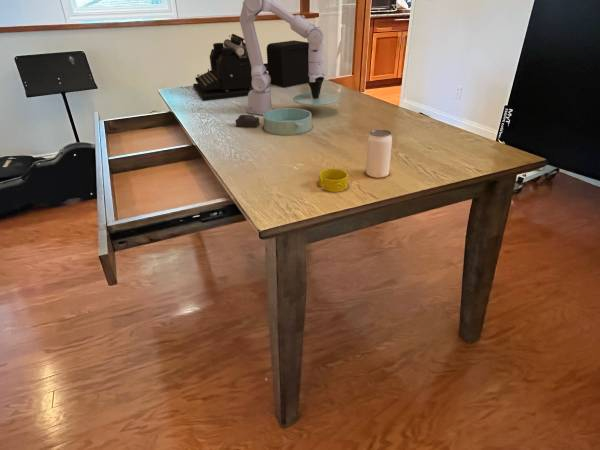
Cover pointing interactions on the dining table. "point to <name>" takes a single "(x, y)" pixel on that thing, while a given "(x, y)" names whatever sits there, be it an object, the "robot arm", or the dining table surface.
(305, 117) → the pot
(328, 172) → the bracelet
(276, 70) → the air purifier
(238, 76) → the typewriter
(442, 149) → the dining table surface
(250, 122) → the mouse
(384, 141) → the can
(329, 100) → the lid
